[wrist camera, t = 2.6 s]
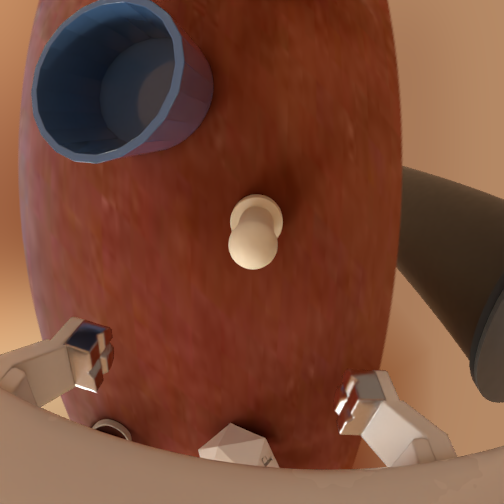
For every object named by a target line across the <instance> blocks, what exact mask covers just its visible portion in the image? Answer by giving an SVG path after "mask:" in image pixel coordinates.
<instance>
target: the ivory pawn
mask: <svg viewBox="0 0 504 504" xmlns="http://www.w3.org/2000/svg"><path fill="white" fill-rule="evenodd" d="M230 226H231V230H232V233H231V235H230V238H229V243H228V246H229V252H230V255H231V257H232V258H233V260H234V261H235V262H236V263H237V264H238V265H240V266H242V267H244V268H247V269H259V268H262V267H264V266H266V265H268V264H269V263H270V262H271V261H272V260H273V258H274V257H275V255H276V252H277V248H278V241H277V238H278V236H279V235H280V233H281V231H282V226H283V219H282V213H281V210H280V208H279V206H278V205H277V203H276V202H275V201H274V200H272V199H271V198H269V197H267V196H265V195H260V194H254V195H249V196H246V197H244V198H243V199H241V200H240V201H239V202H238V203H237V204H236V206H235V207H234V209H233V211H232V214H231V218H230Z"/></svg>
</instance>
